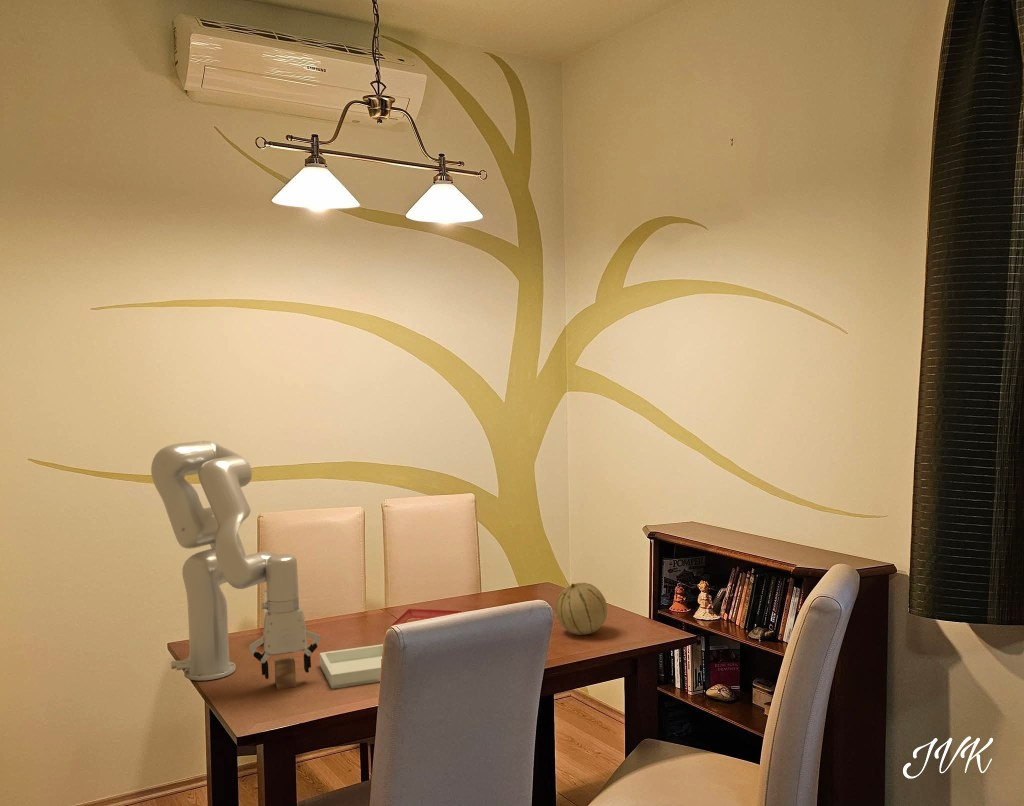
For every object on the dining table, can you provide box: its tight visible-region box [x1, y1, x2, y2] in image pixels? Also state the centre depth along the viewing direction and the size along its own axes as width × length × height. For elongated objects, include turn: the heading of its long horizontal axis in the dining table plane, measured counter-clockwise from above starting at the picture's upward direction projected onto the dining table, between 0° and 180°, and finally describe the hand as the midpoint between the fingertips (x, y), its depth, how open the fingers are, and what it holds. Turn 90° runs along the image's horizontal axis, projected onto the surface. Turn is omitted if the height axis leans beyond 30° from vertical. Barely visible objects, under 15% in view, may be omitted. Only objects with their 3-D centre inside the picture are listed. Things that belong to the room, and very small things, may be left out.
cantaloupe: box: [555, 582, 608, 636], centre depth 253 cm, size 15×15×15 cm
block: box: [273, 656, 297, 690], centre depth 218 cm, size 4×4×6 cm
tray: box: [319, 643, 384, 690], centre depth 225 cm, size 18×18×4 cm
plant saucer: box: [388, 608, 464, 628], centre depth 263 cm, size 18×18×3 cm
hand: (286, 674), depth 217 cm, fingers open, 9 cm apart
